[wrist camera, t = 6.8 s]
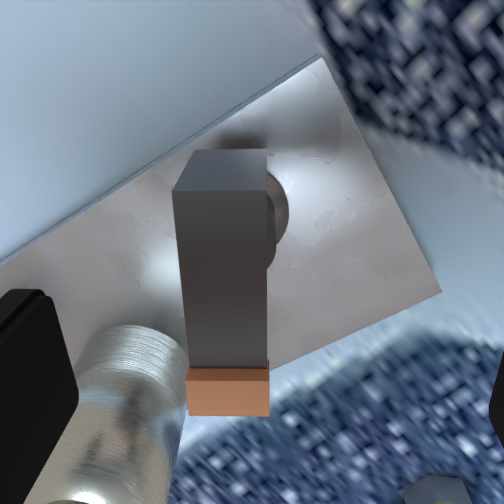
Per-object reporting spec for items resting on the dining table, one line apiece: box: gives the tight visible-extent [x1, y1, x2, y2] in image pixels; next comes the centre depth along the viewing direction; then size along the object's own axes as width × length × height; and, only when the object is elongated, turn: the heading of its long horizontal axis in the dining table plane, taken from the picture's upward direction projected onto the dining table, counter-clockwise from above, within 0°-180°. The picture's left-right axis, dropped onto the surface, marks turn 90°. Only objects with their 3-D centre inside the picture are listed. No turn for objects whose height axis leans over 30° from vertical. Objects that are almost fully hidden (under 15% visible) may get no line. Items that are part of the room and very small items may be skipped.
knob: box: [171, 149, 277, 416], centre depth 13 cm, size 6×3×6 cm, turn 1°
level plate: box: [0, 54, 442, 504], centre depth 16 cm, size 26×10×9 cm, turn 122°
